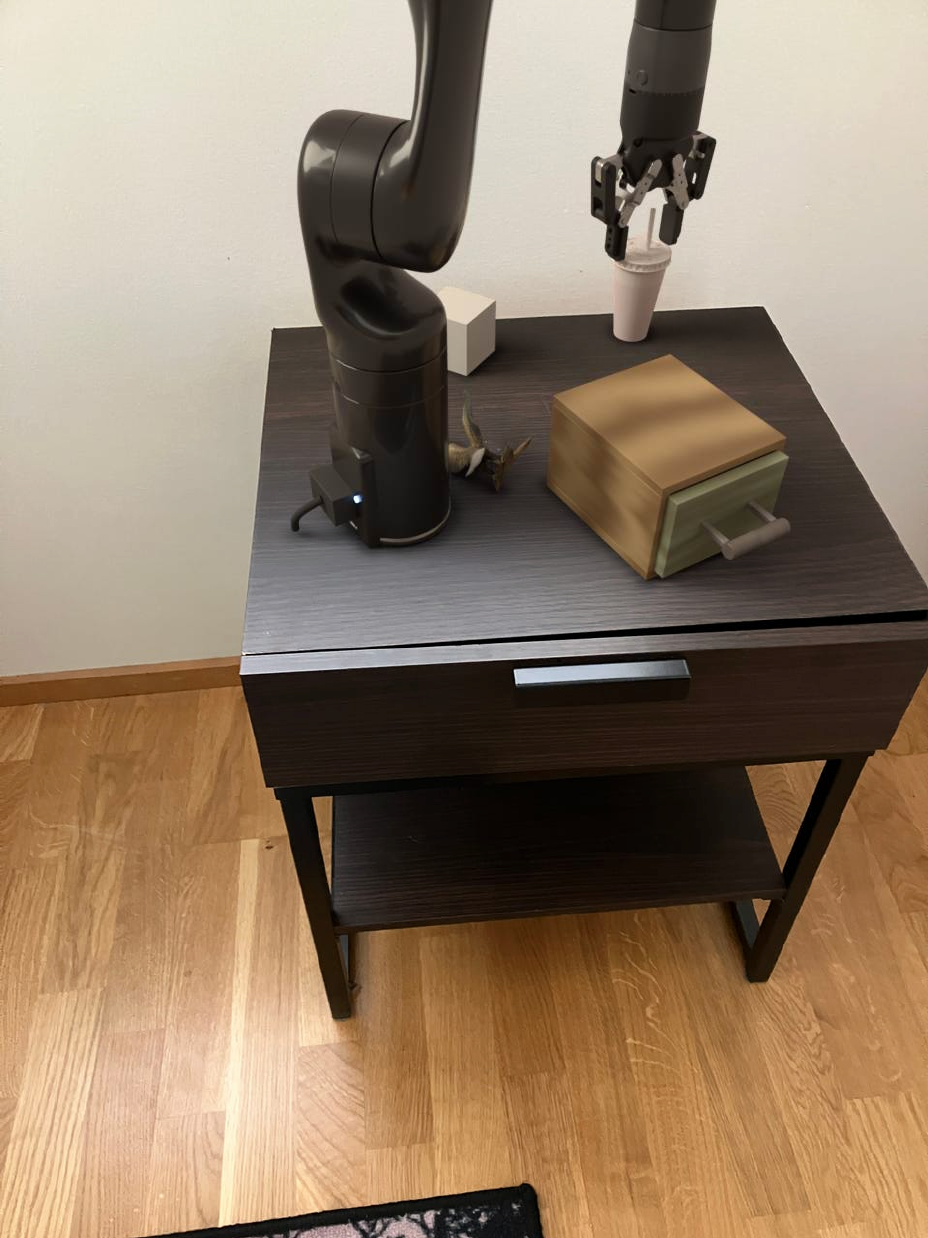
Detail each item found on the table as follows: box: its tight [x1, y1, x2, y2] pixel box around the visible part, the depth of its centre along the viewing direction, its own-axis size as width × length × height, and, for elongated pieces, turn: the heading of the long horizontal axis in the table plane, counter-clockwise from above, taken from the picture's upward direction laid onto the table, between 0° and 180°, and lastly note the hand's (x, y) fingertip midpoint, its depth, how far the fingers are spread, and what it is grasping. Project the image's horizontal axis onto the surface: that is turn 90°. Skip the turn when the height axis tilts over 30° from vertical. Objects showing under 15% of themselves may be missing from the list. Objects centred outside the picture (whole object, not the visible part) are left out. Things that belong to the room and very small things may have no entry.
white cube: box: [436, 285, 497, 377], centre depth 103 cm, size 6×6×6 cm
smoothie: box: [609, 207, 673, 343], centre depth 103 cm, size 6×6×14 cm
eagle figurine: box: [449, 389, 533, 492], centre depth 89 cm, size 8×7×9 cm
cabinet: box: [546, 353, 787, 581], centre depth 84 cm, size 15×13×10 cm
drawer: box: [654, 450, 791, 579], centre depth 81 cm, size 18×12×8 cm, turn 31°
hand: (641, 249), depth 101 cm, fingers closed on smoothie, 6 cm apart
